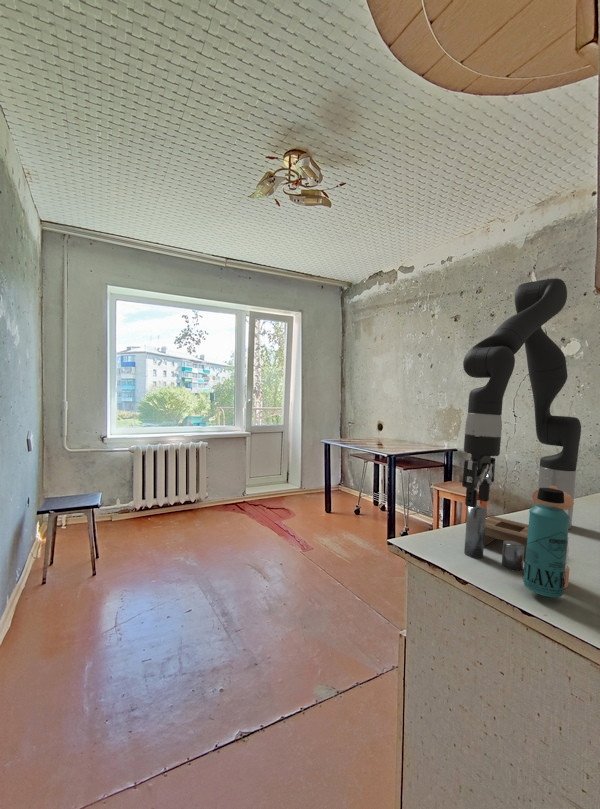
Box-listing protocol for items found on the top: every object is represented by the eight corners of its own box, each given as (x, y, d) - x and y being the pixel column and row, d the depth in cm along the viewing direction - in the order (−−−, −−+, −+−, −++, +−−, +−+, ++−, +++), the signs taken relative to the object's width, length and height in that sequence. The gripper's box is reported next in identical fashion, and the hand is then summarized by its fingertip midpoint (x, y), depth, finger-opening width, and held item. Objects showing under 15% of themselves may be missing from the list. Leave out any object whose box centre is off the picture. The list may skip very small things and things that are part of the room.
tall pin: (467, 549, 90) (470, 503, 90) (485, 555, 87) (488, 508, 87) (461, 553, 87) (464, 506, 87) (479, 559, 84) (483, 510, 84)
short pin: (504, 561, 84) (506, 539, 84) (524, 567, 82) (526, 544, 82) (499, 566, 81) (500, 543, 81) (520, 573, 79) (521, 549, 79)
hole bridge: (490, 533, 102) (491, 515, 102) (541, 548, 94) (543, 528, 94) (475, 544, 93) (476, 524, 93) (530, 561, 85) (531, 539, 85)
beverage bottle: (513, 590, 71) (521, 485, 71) (538, 585, 73) (546, 484, 73) (547, 608, 65) (555, 494, 65) (572, 603, 67) (581, 492, 67)
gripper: (476, 431, 94) (471, 495, 94) (454, 432, 84) (448, 504, 84) (509, 435, 89) (503, 502, 89) (490, 436, 79) (484, 513, 79)
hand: (477, 503), depth 87 cm, fingers open, 8 cm apart
